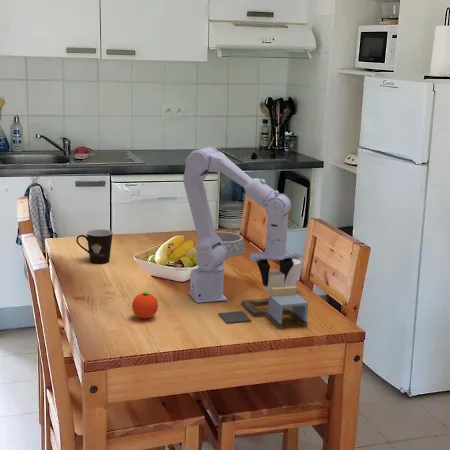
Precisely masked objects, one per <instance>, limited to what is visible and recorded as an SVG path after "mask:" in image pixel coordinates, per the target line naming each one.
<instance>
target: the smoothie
mask: <svg viewBox="0 0 450 450" xmlns="http://www.w3.org/2000/svg"><path fill="white" fill-rule="evenodd" d="M291 249H292V250H291V251H295V247H292V248H291ZM292 261H293V262H294V264H293V266H292V268H291V269H290V271H289V273H288V275H287V277H286V280H285V284H284V287H289V286H295V287H296V288H297V281H298V276H299V272H300V267H301V265H302V261H301V260H296V259H292Z"/></svg>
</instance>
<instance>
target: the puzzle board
mask: <svg viewBox="0 0 450 450" xmlns="http://www.w3.org/2000/svg"><path fill="white" fill-rule="evenodd" d="M268 304H269V297H267V298H255V299H244V300H241V306H242V307H243V308H244V309H245V310H246V311H247V312H248V313H249V314H250V315H251V316H252V317H253V318H257V317H265V318H266V319H267V320H268V321H270V322H271V324H272V325H274V327H276V328H277V330H281V329H283V322H282V323H280V324H279V323H278V322H277V321H276V320H275V319H274V318H273V317H272V316H271V315H270V314H269V313H268V308H263V309H258V308H257V306H259V307H260V306H268ZM292 308H293V307H283V312H282V315H290V316H291V318H293V319H294V320H295V321H296V322H297V323H299V324H300V325H301V326H302V327H303V328H304V327H308V320H307V321H304V320H302V319H301V318H300V317H299V316H298V315H297V314H296V313H294V312H293V311H292Z"/></svg>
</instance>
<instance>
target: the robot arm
mask: <svg viewBox="0 0 450 450" xmlns="http://www.w3.org/2000/svg"><path fill="white" fill-rule="evenodd" d="M184 161H185V168H184V174H183V178H182V179H183V185H184V188H185V193H186V197H187V201H188V204H189V208H190V209H189V210H190V212H191V215H192V219H193V225H194V228H195V232H196V235H197V242H196V245H195V251H196V250H197V251H196V257H195V258H196V259H195V262H196V264H197V266H198V268H195V269H192V270H191V272H190V279H189V280H190V282H189V283H190V284H189V286H190V287H189V296H190V297H191V298H192V299H193V300H194V301H195V303H210V302H212V303H213V302H223V301H224V302H225V301H228V298H227V297H226V295H224V277H225V276H224V275H225V273H224V272H225V266H224V263H225V262H226V260H227V258H228V257H227V256H228V253H227V249H226V248H225V246H224V245H223V244H222V241H221V238H220V237H219V236H218V235H217V234H216V232H215V231H216V228H215V224H214V221H213V217H212V213H211V208H210V205H209V201H208V197H207V193H206V188H205V185H204V180H206V178H207V176H208V175H209V173H221V174H223V175H224V176H226V177H228V178H229V179H230V180H231V181H233V182H235V183H236V184H238V185H239V186H240V187H242V188H244V193H245V195H246V196H247V197H249V198H250V199H251V200H252V201H253V202H255V203H256V204H258V205H259V206H260V207H261V208H263V209H264V211H265V214H266V215H267V220H266V221H267V222H266V232H265V233H266V235H265V237H266V238H265V251H260V252H255V253H250V254H249V261H250V262H251V263H256V264H257V266H258V269H259V270H258V271H259V272H260V276H261V282H262V286H263V285H264V286H267V285H268V274H269V270H271V265H270V264H269V262H268V261H279V263H278V264H279V271H281V272H282V273H283V274H284V275H285V277H284V284H285V280H286V277H287V275H288V273H289V271H290V269H291V268H292V266H293V264H294V262H293V261H292V259H296V260H299V261H301V253H300V252H299V251H298V250H297V251H296V250H294V251H292V250H287V239H288V224H289V223H288V221H289V212H290V210H291V209H292V202H291V199H290V197H288V196H287V195H286V194H284V193H280V192H279V190H274V189H273V188H272V187H270V185H268V184H267V183H266V182H267V181H266V179H264V178H261V179H260V178H257V177H256V178H255V177H254V178H252V177H251V176H250V175H248V174H247V173H246V172H245V171H243V170H242V169H241V168H240V167H239V166H237V164H235V163H234V162H233V161H232V160H231V159H229V158H228V157H227V156H226V155H225V154H224V152H221V151H220V150H218V149H217V148H216V147H214V146H210V145H209V146H206V147H204V148H203V147H202V148H199V149H194V150H193V151H191V152H190V153H189V154H188V155H187V157H186V158H185V159H184Z"/></svg>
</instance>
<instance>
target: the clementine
mask: <svg viewBox="0 0 450 450" xmlns="http://www.w3.org/2000/svg"><path fill="white" fill-rule="evenodd" d="M131 307H132V312H133V313H134V314H135V315H136V316H137V317H138V318H139V319H150V318H152V317H154V316H155V314H156V313H157V312H158V309H159V302H158V299H157V298H156V296H154V295H153V294H151V293H150V292H149V291H144V292H141V293H139V294H138V295H136V296H134V299H133V301H132V305H131Z"/></svg>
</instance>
